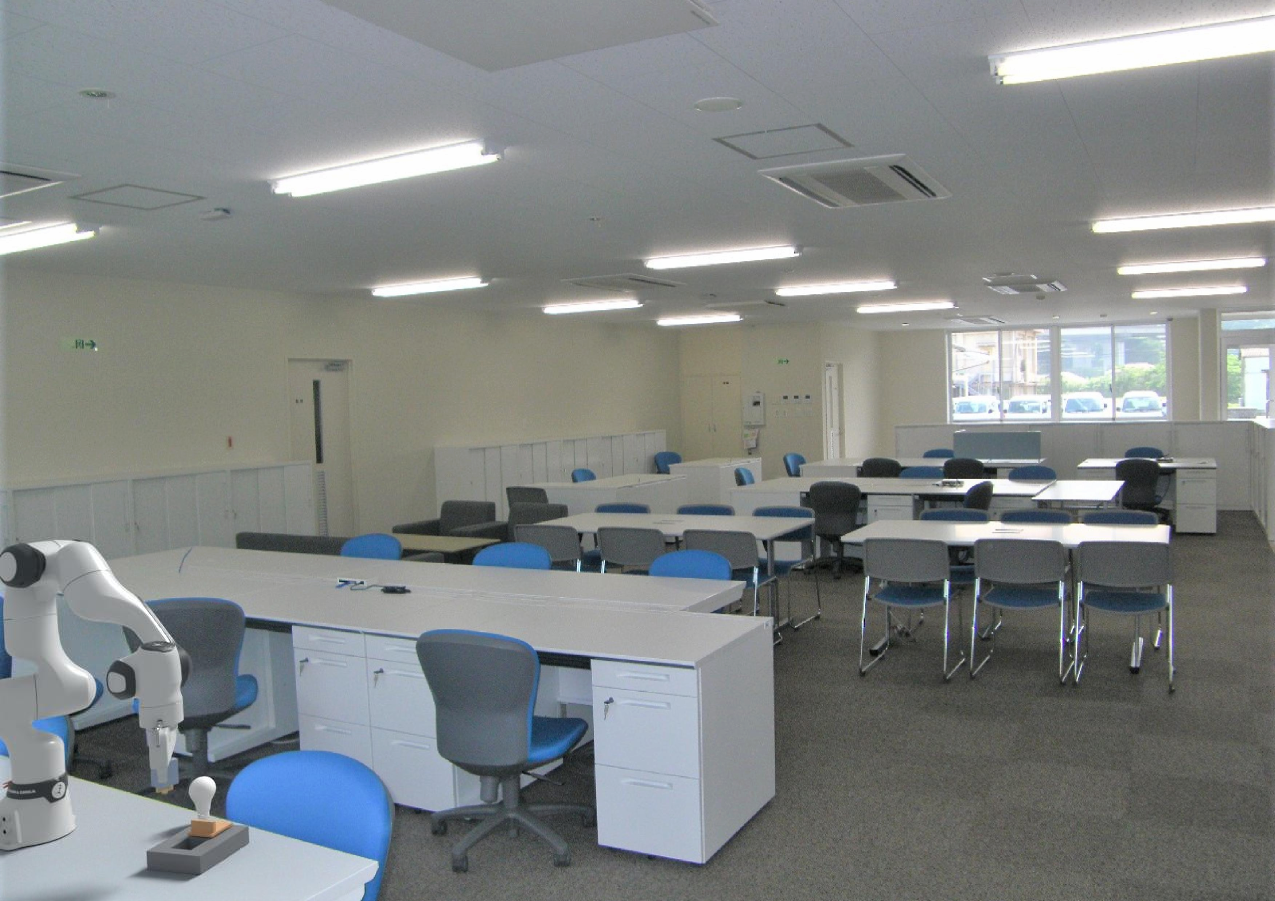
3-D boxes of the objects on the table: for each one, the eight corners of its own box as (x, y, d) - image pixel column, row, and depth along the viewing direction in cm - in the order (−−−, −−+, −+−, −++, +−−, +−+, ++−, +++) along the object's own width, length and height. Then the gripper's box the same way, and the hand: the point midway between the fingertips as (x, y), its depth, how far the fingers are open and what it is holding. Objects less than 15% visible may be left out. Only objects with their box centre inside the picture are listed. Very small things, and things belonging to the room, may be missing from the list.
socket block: (147, 869, 209) (146, 851, 209) (198, 838, 225) (197, 821, 224) (200, 874, 205) (200, 856, 205) (249, 843, 221) (248, 825, 221)
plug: (151, 792, 211) (150, 754, 211) (168, 787, 214) (167, 749, 214) (161, 795, 209) (160, 756, 209) (179, 789, 212) (177, 751, 212)
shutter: (187, 835, 216) (186, 821, 216) (208, 822, 223) (208, 809, 223) (212, 837, 214) (211, 823, 214) (232, 824, 221) (232, 811, 221)
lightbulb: (206, 826, 231) (204, 782, 231) (184, 825, 232) (182, 781, 232) (222, 816, 237) (220, 773, 237) (200, 815, 238) (199, 772, 238)
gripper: (173, 724, 203) (176, 789, 203) (180, 703, 222) (183, 762, 222) (140, 729, 201) (143, 794, 201) (150, 707, 220) (153, 766, 220)
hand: (164, 777), depth 211 cm, fingers closed on plug, 6 cm apart
